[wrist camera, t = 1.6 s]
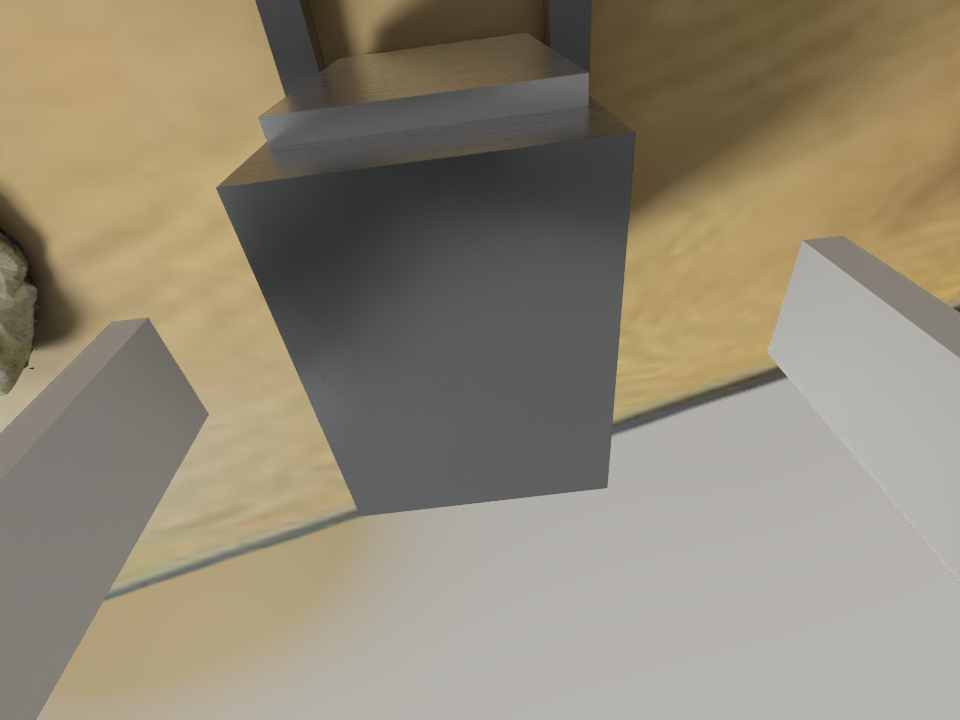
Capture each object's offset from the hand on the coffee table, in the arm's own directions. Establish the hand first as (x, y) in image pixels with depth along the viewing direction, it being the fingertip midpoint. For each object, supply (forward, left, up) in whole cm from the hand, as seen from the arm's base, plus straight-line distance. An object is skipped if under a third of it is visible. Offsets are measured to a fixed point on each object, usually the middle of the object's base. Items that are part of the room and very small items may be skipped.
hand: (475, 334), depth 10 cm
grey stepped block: (0, 0, -10) cm, 10 cm away
